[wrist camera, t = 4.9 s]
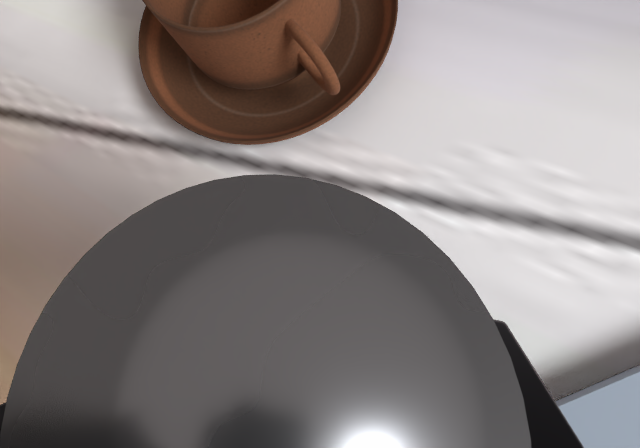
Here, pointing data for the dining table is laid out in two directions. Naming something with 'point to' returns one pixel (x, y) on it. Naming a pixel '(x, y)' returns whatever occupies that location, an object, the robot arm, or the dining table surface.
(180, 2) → the cup and saucer
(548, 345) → the dining table surface
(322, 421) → the grey metallic rounded cylinder
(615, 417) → the flange plate
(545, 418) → the robot arm
